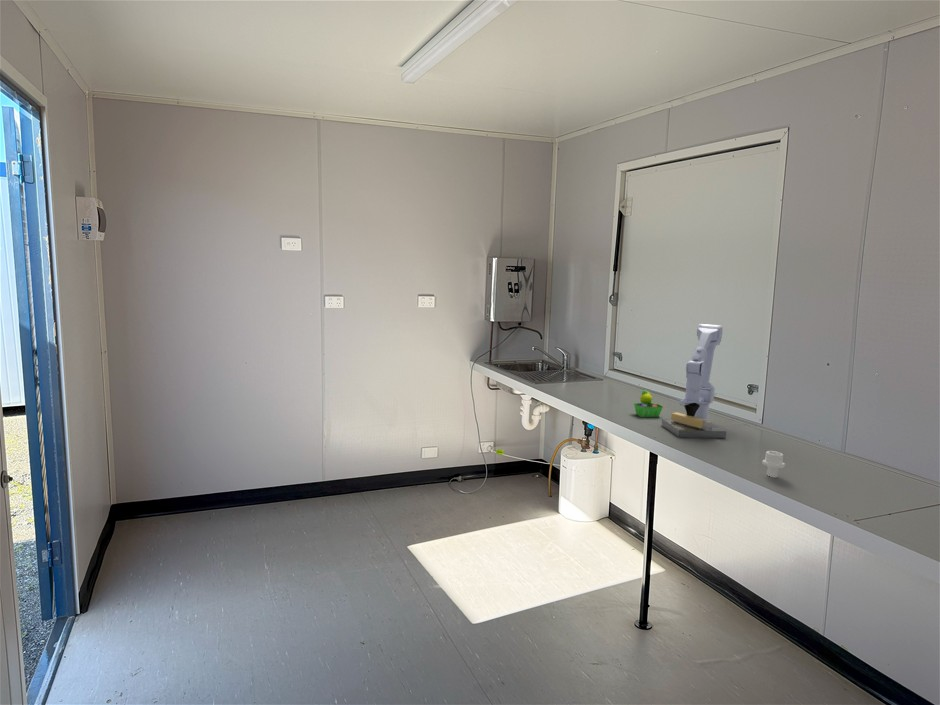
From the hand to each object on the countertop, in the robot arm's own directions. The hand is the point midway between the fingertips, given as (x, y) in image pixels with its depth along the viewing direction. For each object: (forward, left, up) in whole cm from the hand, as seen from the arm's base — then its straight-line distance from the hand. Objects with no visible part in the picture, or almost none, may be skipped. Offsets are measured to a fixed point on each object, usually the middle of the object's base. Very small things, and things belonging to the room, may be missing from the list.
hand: (690, 420), depth 267 cm
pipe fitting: (+56, +5, -5) cm, 56 cm away
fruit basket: (-25, -9, -5) cm, 27 cm away
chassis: (+2, +1, -4) cm, 5 cm away
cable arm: (+4, -1, -1) cm, 4 cm away
